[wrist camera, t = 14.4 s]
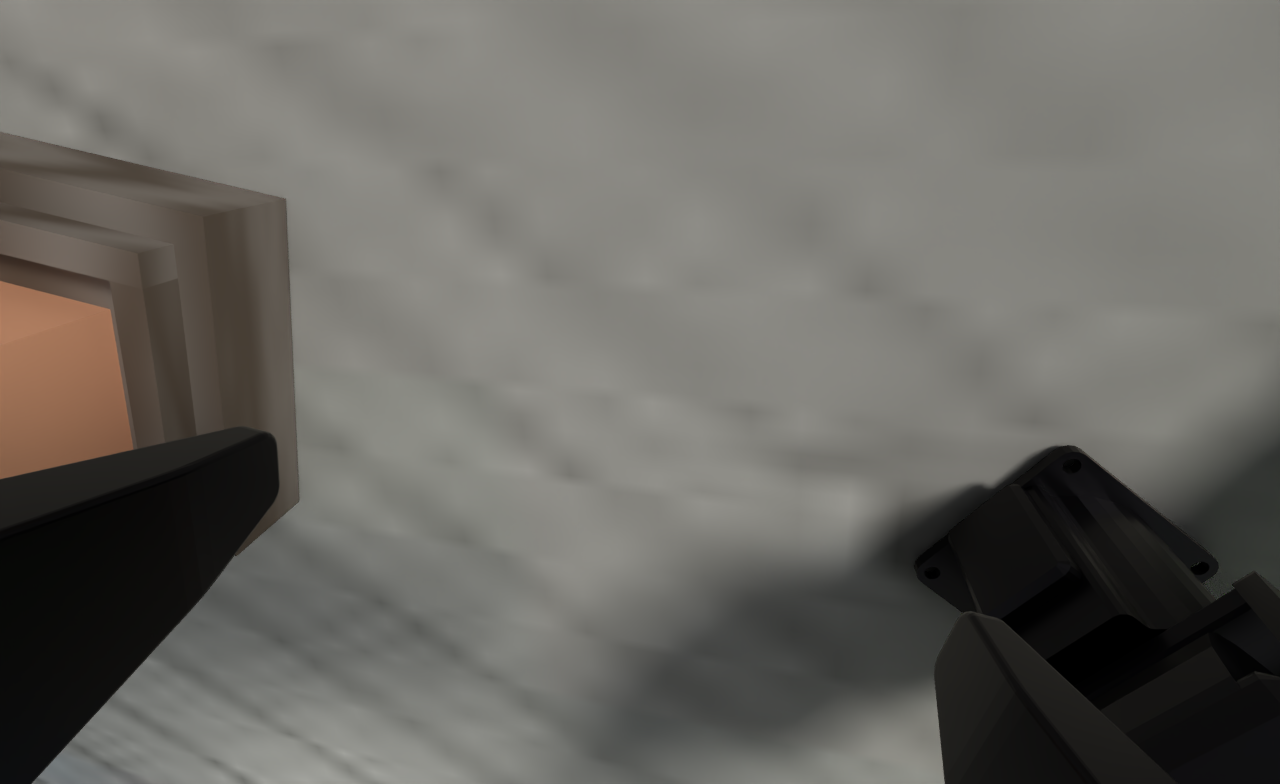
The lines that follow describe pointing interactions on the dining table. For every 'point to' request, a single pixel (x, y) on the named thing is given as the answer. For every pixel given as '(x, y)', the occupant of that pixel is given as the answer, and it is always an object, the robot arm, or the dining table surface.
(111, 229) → the base block
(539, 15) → the dining table surface
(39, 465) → the terracotta column
